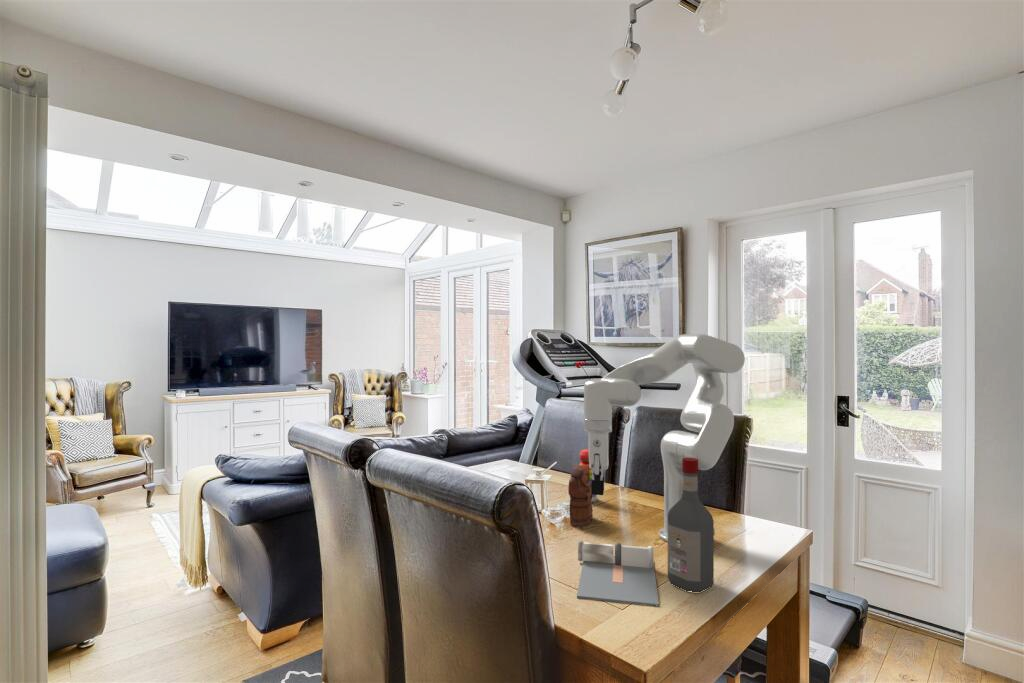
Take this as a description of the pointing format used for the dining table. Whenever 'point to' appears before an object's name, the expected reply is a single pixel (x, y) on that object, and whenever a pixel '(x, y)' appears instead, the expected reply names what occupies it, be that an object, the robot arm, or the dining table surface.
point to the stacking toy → (585, 462)
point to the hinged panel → (595, 552)
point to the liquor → (690, 536)
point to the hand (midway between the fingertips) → (597, 492)
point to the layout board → (621, 577)
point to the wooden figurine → (580, 496)
